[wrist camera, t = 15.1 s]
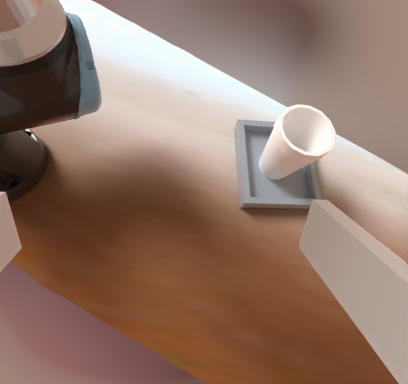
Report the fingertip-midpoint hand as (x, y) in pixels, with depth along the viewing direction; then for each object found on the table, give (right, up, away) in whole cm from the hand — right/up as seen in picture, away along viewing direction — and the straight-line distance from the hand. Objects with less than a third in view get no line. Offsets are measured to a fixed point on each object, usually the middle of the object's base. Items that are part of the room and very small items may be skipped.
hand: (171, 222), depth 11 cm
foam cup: (+16, +7, +39) cm, 43 cm away
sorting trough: (+16, +7, +40) cm, 43 cm away
